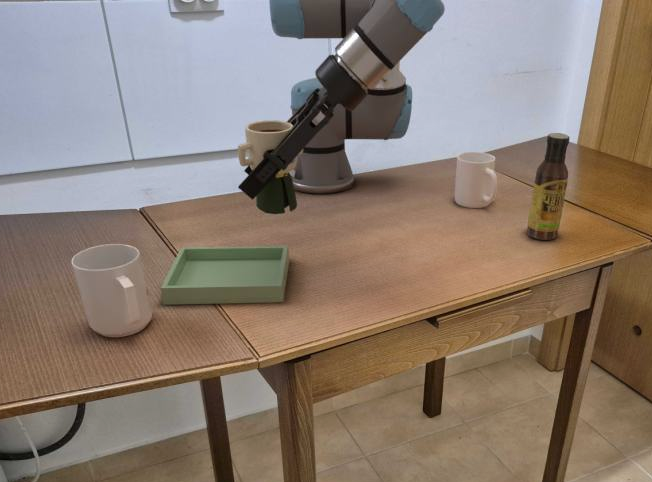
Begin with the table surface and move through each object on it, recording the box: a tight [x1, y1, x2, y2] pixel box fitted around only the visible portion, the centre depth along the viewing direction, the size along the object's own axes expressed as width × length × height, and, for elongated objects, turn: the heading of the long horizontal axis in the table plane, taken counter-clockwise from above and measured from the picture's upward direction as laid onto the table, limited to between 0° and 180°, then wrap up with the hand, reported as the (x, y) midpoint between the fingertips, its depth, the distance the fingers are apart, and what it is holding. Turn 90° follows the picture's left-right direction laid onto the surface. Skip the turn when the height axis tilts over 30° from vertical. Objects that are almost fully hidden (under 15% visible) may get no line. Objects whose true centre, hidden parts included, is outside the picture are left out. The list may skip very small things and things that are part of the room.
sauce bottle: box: [526, 132, 571, 241], centre depth 124 cm, size 6×6×20 cm
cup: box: [454, 151, 498, 209], centre depth 141 cm, size 8×12×10 cm
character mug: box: [237, 119, 303, 215], centre depth 98 cm, size 11×7×13 cm, turn 131°
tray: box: [160, 245, 290, 306], centre depth 108 cm, size 16×19×3 cm
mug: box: [70, 243, 153, 338], centre depth 92 cm, size 12×9×11 cm
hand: (248, 184), depth 99 cm, fingers closed on character mug, 7 cm apart
